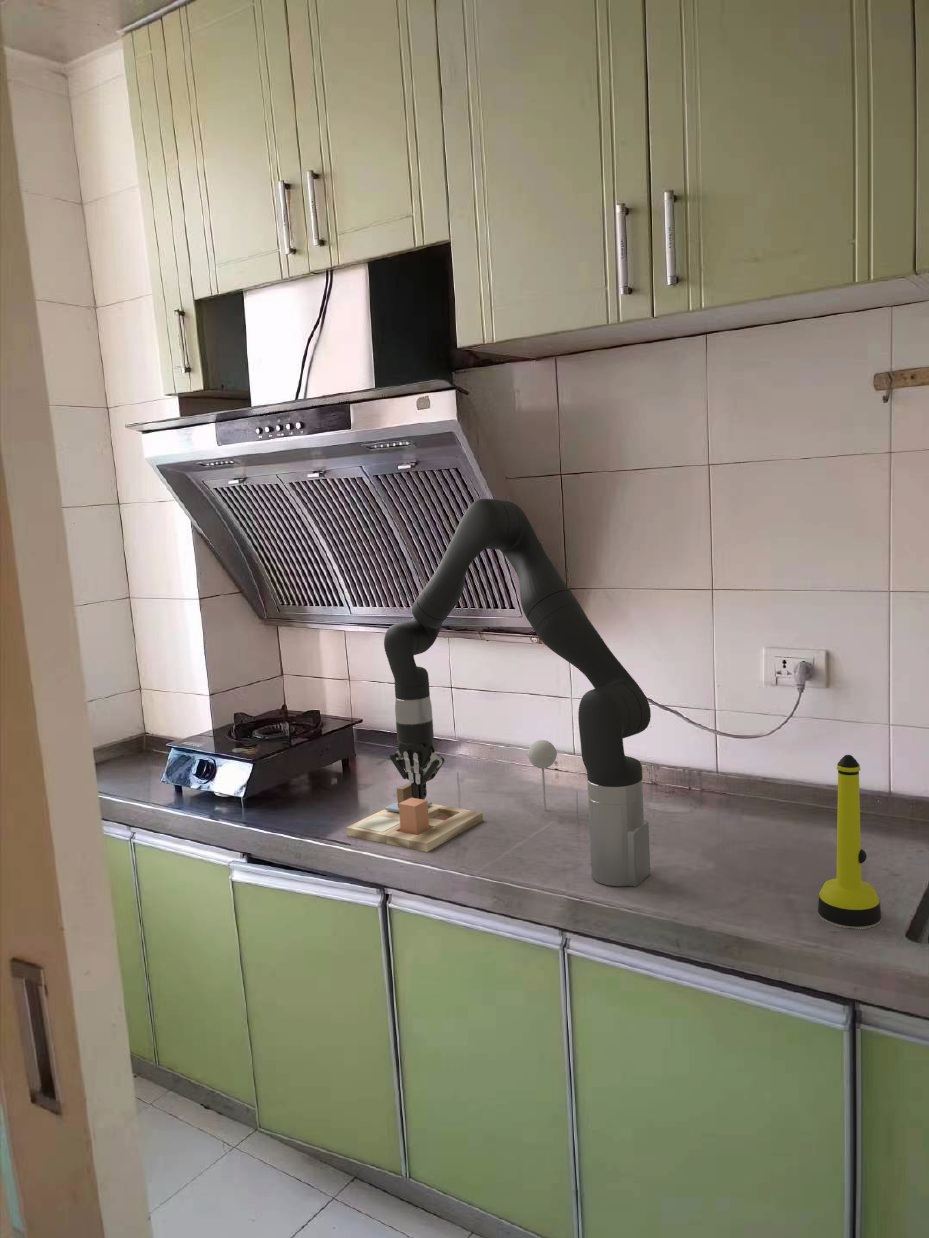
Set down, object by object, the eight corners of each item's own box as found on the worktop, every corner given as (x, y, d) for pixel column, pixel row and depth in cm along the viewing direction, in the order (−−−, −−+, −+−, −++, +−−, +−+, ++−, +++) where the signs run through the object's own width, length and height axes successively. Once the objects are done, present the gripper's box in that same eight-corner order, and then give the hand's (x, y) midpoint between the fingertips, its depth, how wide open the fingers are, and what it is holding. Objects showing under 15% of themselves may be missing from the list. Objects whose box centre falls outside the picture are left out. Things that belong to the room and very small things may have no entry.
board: (482, 821, 192) (482, 811, 191) (427, 853, 176) (426, 843, 176) (405, 807, 203) (404, 798, 203) (347, 836, 187) (346, 826, 187)
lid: (432, 804, 197) (430, 782, 197) (411, 814, 192) (410, 792, 191) (405, 799, 201) (404, 778, 201) (385, 809, 196) (383, 787, 195)
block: (429, 834, 185) (427, 800, 184) (417, 841, 182) (415, 806, 181) (413, 831, 187) (411, 797, 186) (401, 838, 184) (398, 803, 183)
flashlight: (810, 760, 137) (876, 766, 132) (822, 744, 145) (885, 749, 140) (812, 922, 140) (877, 933, 136) (823, 898, 148) (885, 909, 143)
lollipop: (564, 807, 197) (561, 737, 195) (552, 816, 192) (548, 745, 190) (537, 803, 201) (534, 735, 199) (525, 812, 196) (521, 742, 194)
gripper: (451, 716, 192) (456, 798, 194) (400, 711, 199) (405, 790, 201) (429, 725, 185) (434, 809, 188) (377, 719, 193) (383, 800, 195)
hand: (419, 799), depth 194 cm, fingers closed
